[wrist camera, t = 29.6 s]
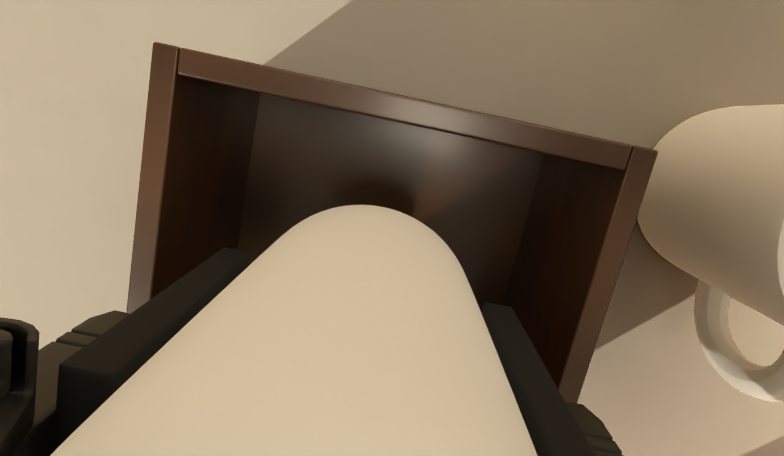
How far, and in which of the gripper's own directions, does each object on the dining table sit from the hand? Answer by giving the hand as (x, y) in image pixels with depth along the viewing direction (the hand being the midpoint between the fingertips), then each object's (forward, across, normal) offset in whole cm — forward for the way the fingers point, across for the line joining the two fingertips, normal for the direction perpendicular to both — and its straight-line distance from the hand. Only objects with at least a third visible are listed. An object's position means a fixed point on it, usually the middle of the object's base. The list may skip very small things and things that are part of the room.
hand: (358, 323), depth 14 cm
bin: (+13, 0, -2) cm, 13 cm away
